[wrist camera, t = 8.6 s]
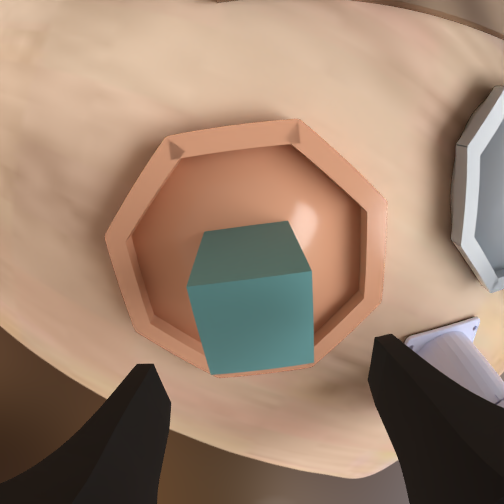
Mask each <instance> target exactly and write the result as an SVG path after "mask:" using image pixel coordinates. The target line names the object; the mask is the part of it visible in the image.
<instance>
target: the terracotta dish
mask: <svg viewBox="0 0 504 504" xmlns="http://www.w3.org/2000/svg"><path fill="white" fill-rule="evenodd" d="M281 221H288V222H289V224H290V226H291V228H292V230H293V232H294V234H295V236H296V238H297V240H298V242H299V244H300V247H301V249H302V251H303V253H304V255H305V257H306V259H307V261H308V263H309V266H310V268H311V270H312V283H313V318H314V363H309V364H303V365H296V366H289V367H282V368H275V369H267V370H258V371H249V372H239V373H228V374H216V375H213V376H215V377H217V378H218V377H219V378H225V377H237V376H248V375H258V374H267V373H275V372H283V371H290V370H297V369H304V368H310V367H311V366H312V367H313V366H314V365H315V364H316V363H317V362H318V361H320V360H321V359H322V358H323V357H324V356H325V355H326V354H328V353H329V352H330V351H331V350H332V349H333V348H334V347H335V346H336V345H338V344H339V343H340V342H341V341H342V340H343V339H344V338H345V337H346V336H347V335H348V334H349V333H351V332H352V331H353V330H354V329H355V328H356V327H357V326H358V325H359V324H360V323H361V322H362V321H363V320H364V319H365V318H366V317H367V316H368V315H369V314H370V313H371V312H372V311H373V310H374V309H375V308H376V307H377V306H378V305H379V304H380V303H381V300H382V291H383V280H384V268H385V254H386V235H387V200H386V199H385V198H384V197H383V196H382V195H381V194H380V193H379V192H378V191H377V190H376V189H375V188H374V187H373V186H372V185H371V184H370V183H369V182H368V181H367V180H366V179H365V178H364V177H363V176H362V175H361V174H360V173H359V172H358V171H357V170H356V169H355V168H354V167H353V166H352V165H351V164H350V163H349V162H348V161H347V160H346V159H345V158H343V157H342V156H341V155H340V154H339V153H338V152H337V151H336V150H335V149H334V148H333V147H331V146H330V145H329V144H328V143H327V142H326V141H325V140H324V139H322V138H321V137H320V136H319V135H318V134H317V133H316V132H314V131H313V130H312V129H311V128H310V127H309V126H307V125H306V124H305V123H304V122H303V121H301V120H300V119H286V120H275V121H264V122H254V123H246V124H238V125H230V126H223V127H216V128H209V129H203V130H197V131H191V132H185V133H180V134H175V135H169V136H167V137H165V138H164V140H163V141H162V142H161V144H160V145H159V147H158V148H157V150H156V151H155V153H154V154H153V156H152V157H151V159H150V160H149V162H148V163H147V165H146V166H145V168H144V169H143V171H142V172H141V174H140V176H139V177H138V179H137V180H136V182H135V184H134V185H133V187H132V188H131V190H130V192H129V193H128V195H127V197H126V198H125V200H124V202H123V203H122V205H121V207H120V209H119V210H118V212H117V214H116V216H115V217H114V219H113V221H112V223H111V225H110V226H109V228H108V230H107V232H106V234H105V237H104V238H105V241H106V245H107V248H108V252H109V255H110V259H111V262H112V265H113V268H114V272H115V275H116V278H117V281H118V284H119V287H120V290H121V293H122V296H123V299H124V302H125V305H126V307H127V310H128V313H129V316H130V318H131V321H132V324H133V326H134V329H135V331H136V332H137V333H139V334H141V335H142V336H144V337H145V338H147V339H149V340H150V341H152V342H154V343H155V344H157V345H159V346H160V347H162V348H164V349H166V350H167V351H169V352H171V353H172V354H174V355H176V356H178V357H180V358H181V359H183V360H185V361H187V362H189V363H190V364H192V365H194V366H196V367H198V368H200V369H202V370H203V371H205V372H207V373H209V374H210V370H209V367H208V364H207V360H206V357H205V354H204V350H203V347H202V343H201V340H200V336H199V333H198V329H197V326H196V322H195V318H194V315H193V311H192V307H191V303H190V299H189V296H188V292H187V288H186V286H187V283H188V280H189V277H190V273H191V270H192V267H193V264H194V261H195V258H196V255H197V252H198V249H199V246H200V243H201V240H202V237H203V234H204V232H205V231H212V230H220V229H227V228H234V227H242V226H250V225H257V224H265V223H273V222H281Z"/></svg>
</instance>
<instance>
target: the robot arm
mask: <svg viewBox="0 0 504 504" xmlns="http://www.w3.org/2000/svg"><path fill="white" fill-rule="evenodd" d="M479 323H480V319H479V318H478V317H473V318H470V319H467V320H464V321H461V322H458V323H454V324H451V325H448V326H444V327H441V328H437V329H434V330H430V331H426V332H423V333H419V334H415V335H411V336H409V337H408V338H407V339H406V340H405V343H403V342H401V341H400V340H399V339H398V338H396V337H395V336H394V335H392V334H388V335H384V336H379V337H375V339H374V346H373V353H372V359H371V365H370V370H369V376H368V382H369V386H370V389H371V393H372V396H373V399H374V402H375V405H376V408H377V410H378V412H379V415H380V417H381V419H382V422H383V424H384V426H385V428H386V431H387V433H388V435H389V438H390V440H391V442H392V445H393V447H394V449H395V452H396V454H397V457H398V459H399V462H400V465H401V469H402V472H403V476H404V480H405V484H406V489H407V493H408V498H409V503H410V504H504V382H503V380H502V379H501V377H500V376H499V375H498V374H497V372H496V371H495V370H494V368H493V367H492V366H491V365H490V363H489V362H488V361H487V360H486V358H485V357H484V356H483V355H482V354H481V352H480V351H479V350H478V349H477V347H476V346H475V345H474V344H473V340H474V338H475V335H476V332H477V329H478V326H479ZM409 346H410V347H409ZM170 413H171V401H170V399H169V397H168V395H167V393H166V391H165V389H164V386H163V384H162V382H161V380H160V378H159V375H158V373H157V371H156V368H155V366H154V364H137V365H136V366H135V367H134V368H133V369H132V370H131V372H130V373H129V374H128V375H127V376H126V378H125V379H124V380H123V381H122V382H121V384H120V385H119V386H118V387H117V388H116V390H115V391H114V392H113V393H112V394H111V396H110V397H109V398H108V399H107V400H106V401H105V403H104V404H103V405H102V406H101V407H100V408H99V410H98V411H97V412H96V413H95V414H94V415H93V416H92V417H91V418H90V419H89V420H88V421H87V422H86V423H85V424H84V425H83V427H82V428H81V429H80V430H78V432H76V433H75V434H74V435H73V436H72V437H71V438H70V439H69V440H68V441H66V443H64V444H63V445H62V446H61V447H60V448H58V449H57V450H56V451H54V452H53V453H52V454H50V455H49V456H48V457H46V458H45V459H43V460H42V461H41V462H39V463H38V464H37V465H35V466H33V467H32V468H30V469H28V470H27V471H25V472H23V473H21V474H20V475H18V476H16V477H14V478H12V479H10V480H8V481H5V482H3V483H1V484H0V504H157V492H158V484H159V478H160V473H161V468H162V463H163V457H164V453H165V448H166V443H167V438H168V433H169V426H170Z"/></svg>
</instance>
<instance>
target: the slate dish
mask: <svg viewBox="0 0 504 504" xmlns="http://www.w3.org/2000/svg"><path fill="white" fill-rule="evenodd" d="M451 219H452V233H451V240H452V242H453V243H454V244H455V246H456V247H457V249H458V250H459V252H460V253H461V254H462V256H463V258H464V260H465V261H466V262H467V264H468V265H469V266H470V268H471V269H472V271H473V272H474V274H475V276H476V277H477V279H478V280H479V282H480V283H481V285H482V286H483V287H484V288H485V289H486V290H488V291H489V292H490V293H493V292H496V291H499V290H502V289H504V86H495V87H494V88H493V90H492V91H491V93H490V95H489V96H488V98H487V99H486V100H485V101H484V102H483V103H482V104H481V105H479V106H478V108H477V109H476V110H475V112H474V113H473V114H472V116H471V118H470V119H469V121H468V123H467V125H466V127H465V129H464V131H463V134H462V136H461V138H460V139H459V140H458V142H457V143H456V157H455V161H454V167H453V173H452V182H451Z"/></svg>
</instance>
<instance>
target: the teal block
mask: <svg viewBox="0 0 504 504" xmlns="http://www.w3.org/2000/svg"><path fill="white" fill-rule="evenodd" d="M186 288H187V292H188V296H189V299H190V303H191V307H192V311H193V315H194V318H195V322H196V326H197V329H198V333H199V336H200V340H201V343H202V347H203V350H204V354H205V357H206V360H207V364H208V367H209V370H210V374H211V375H216V374H228V373H239V372H249V371H258V370H267V369H275V368H282V367H289V366H296V365H303V364H309V363H314V318H313V283H312V270H311V268H310V266H309V263H308V261H307V259H306V257H305V255H304V253H303V251H302V249H301V247H300V244H299V242H298V240H297V238H296V236H295V234H294V232H293V230H292V228H291V226H290V224H289V222H288V221H281V222H273V223H265V224H257V225H250V226H242V227H234V228H227V229H220V230H212V231H205V232H204V234H203V237H202V240H201V243H200V246H199V249H198V252H197V255H196V258H195V261H194V264H193V267H192V270H191V273H190V277H189V280H188V283H187V286H186Z"/></svg>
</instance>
